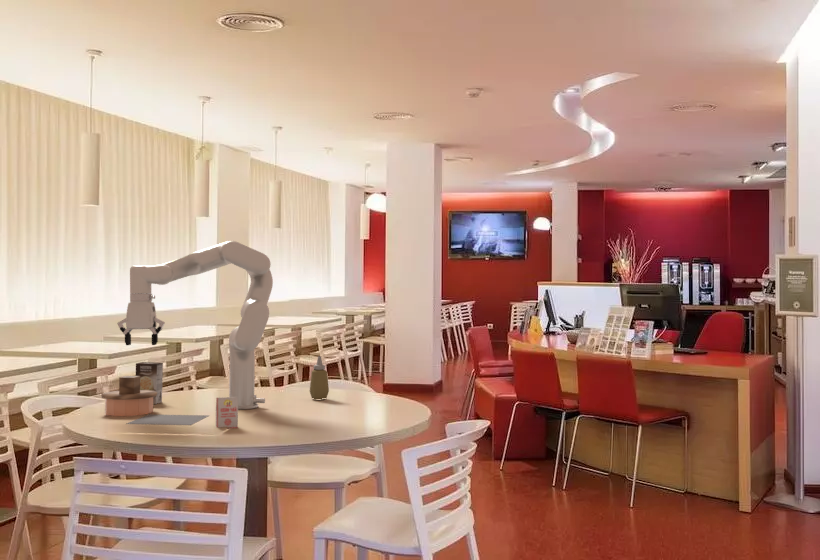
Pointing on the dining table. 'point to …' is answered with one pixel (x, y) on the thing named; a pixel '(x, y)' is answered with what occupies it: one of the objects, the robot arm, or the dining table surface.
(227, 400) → the red and white carton
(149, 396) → the lid
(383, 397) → the dining table surface
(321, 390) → the squeeze bottle
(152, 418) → the mat
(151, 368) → the coffee box
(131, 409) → the bowl
